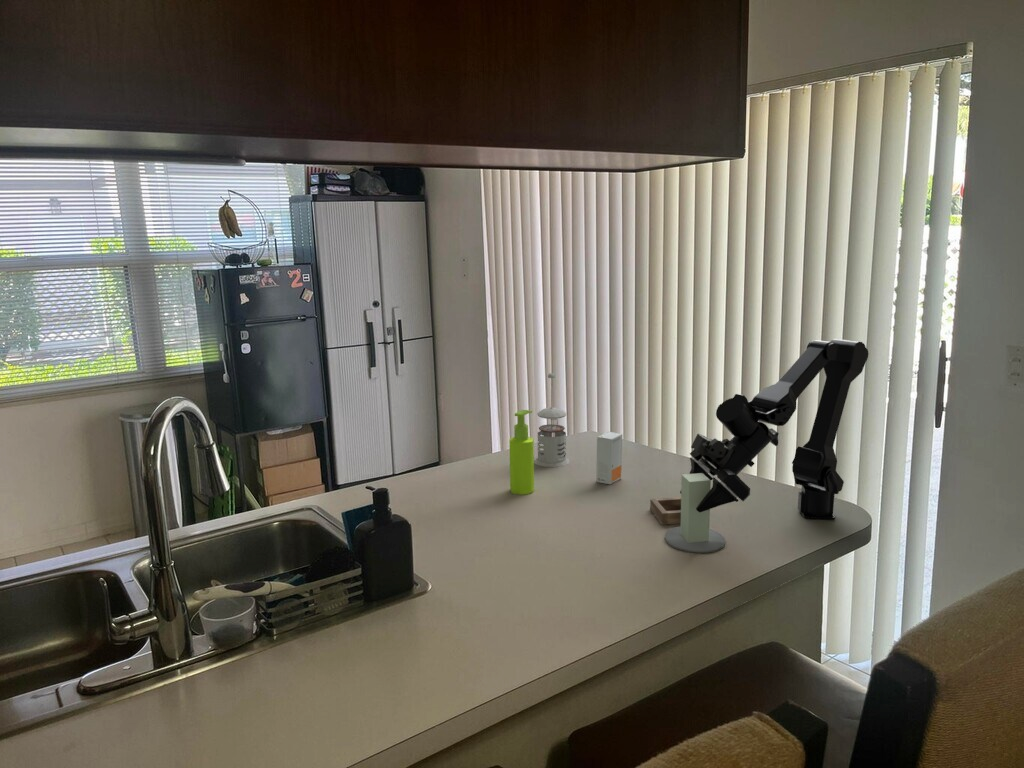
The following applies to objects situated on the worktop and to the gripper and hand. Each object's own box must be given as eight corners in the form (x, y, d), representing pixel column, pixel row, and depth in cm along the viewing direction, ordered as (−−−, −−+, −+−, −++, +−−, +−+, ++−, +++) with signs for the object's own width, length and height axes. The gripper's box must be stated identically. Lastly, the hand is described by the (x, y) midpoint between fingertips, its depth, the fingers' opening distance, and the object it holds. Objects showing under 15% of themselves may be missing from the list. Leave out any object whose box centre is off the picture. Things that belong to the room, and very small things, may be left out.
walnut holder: (687, 506, 167) (687, 496, 166) (701, 521, 158) (701, 511, 158) (650, 509, 166) (650, 498, 165) (662, 524, 157) (662, 513, 157)
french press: (532, 466, 198) (530, 376, 192) (537, 453, 209) (536, 368, 204) (568, 467, 196) (567, 377, 191) (571, 454, 207) (571, 368, 202)
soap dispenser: (540, 487, 181) (539, 410, 177) (526, 496, 176) (524, 416, 171) (520, 483, 184) (519, 407, 180) (505, 492, 179) (504, 413, 174)
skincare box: (610, 485, 182) (611, 439, 179) (595, 482, 184) (596, 436, 182) (622, 478, 187) (623, 433, 184) (607, 475, 189) (608, 431, 187)
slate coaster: (720, 529, 154) (720, 527, 154) (728, 554, 142) (728, 551, 142) (663, 527, 156) (663, 524, 156) (666, 551, 144) (666, 548, 144)
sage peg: (700, 532, 151) (702, 473, 148) (708, 541, 147) (710, 480, 144) (680, 533, 151) (681, 474, 148) (688, 542, 146) (689, 481, 144)
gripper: (700, 410, 153) (648, 462, 154) (737, 434, 135) (678, 493, 136) (734, 443, 156) (683, 495, 157) (775, 471, 138) (717, 530, 139)
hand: (689, 502), depth 147 cm, fingers open, 9 cm apart
